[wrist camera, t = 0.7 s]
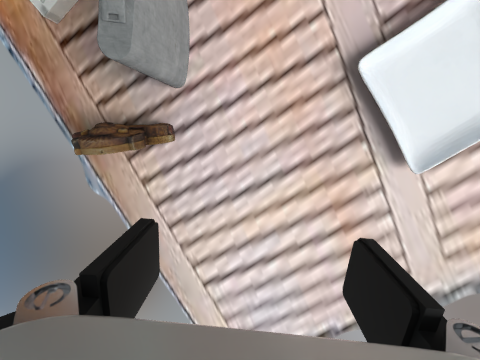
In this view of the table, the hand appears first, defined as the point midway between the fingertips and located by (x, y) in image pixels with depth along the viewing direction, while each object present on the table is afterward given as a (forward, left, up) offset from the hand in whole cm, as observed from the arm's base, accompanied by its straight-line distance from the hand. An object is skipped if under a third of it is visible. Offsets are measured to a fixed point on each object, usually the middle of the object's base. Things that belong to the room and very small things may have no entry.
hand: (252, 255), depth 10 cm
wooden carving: (+14, -16, -31) cm, 37 cm away
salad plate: (-31, +9, -31) cm, 45 cm away
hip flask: (-3, -23, -31) cm, 38 cm away
